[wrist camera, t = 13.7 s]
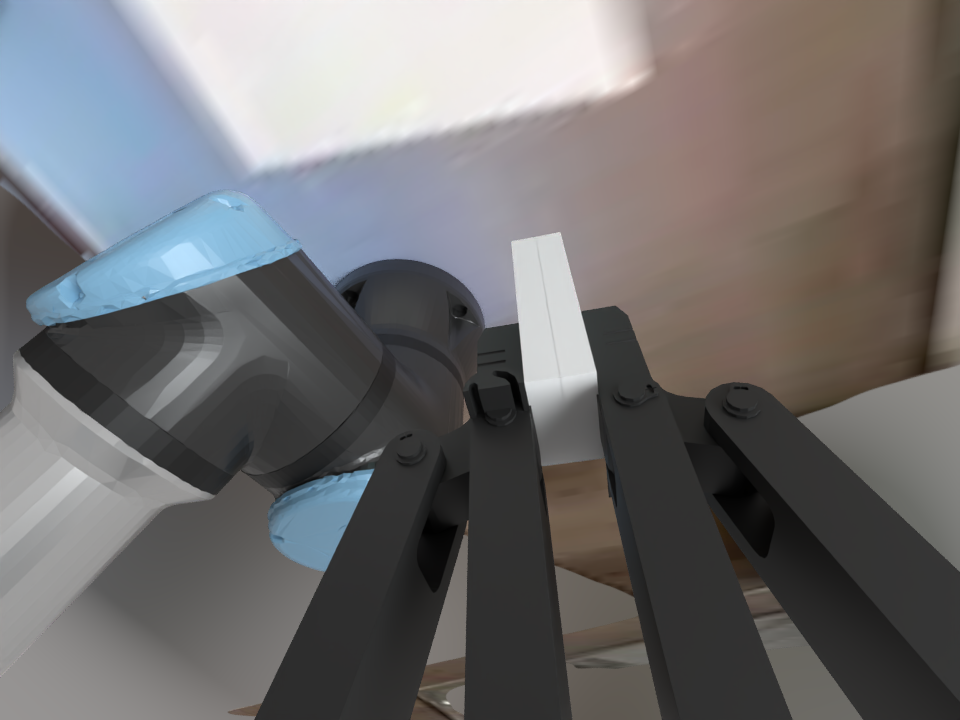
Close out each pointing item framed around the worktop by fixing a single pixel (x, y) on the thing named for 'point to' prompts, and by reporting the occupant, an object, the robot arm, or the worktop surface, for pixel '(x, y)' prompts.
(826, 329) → the worktop surface
